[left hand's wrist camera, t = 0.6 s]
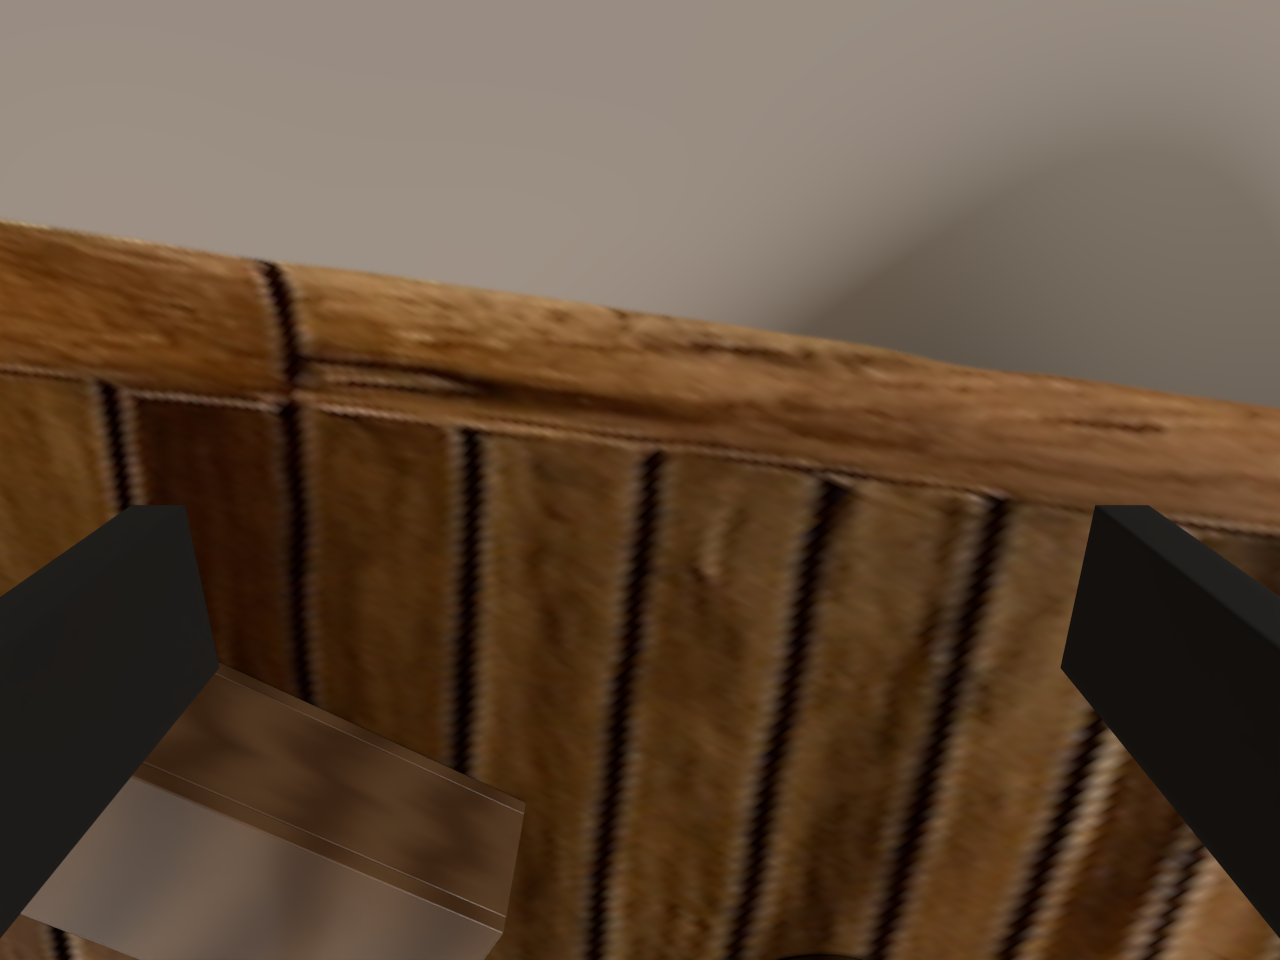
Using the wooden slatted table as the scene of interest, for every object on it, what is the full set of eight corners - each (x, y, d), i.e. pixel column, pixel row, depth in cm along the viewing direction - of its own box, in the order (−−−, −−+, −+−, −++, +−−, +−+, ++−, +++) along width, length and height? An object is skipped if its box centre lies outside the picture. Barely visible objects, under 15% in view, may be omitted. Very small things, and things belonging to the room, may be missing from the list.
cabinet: (115, 782, 48) (8, 910, 40) (179, 643, 44) (76, 752, 36) (444, 920, 52) (408, 1062, 43) (526, 802, 48) (503, 933, 40)
